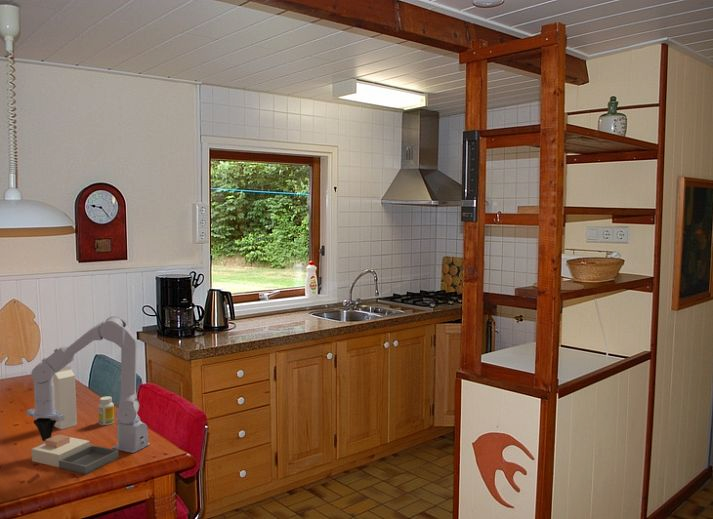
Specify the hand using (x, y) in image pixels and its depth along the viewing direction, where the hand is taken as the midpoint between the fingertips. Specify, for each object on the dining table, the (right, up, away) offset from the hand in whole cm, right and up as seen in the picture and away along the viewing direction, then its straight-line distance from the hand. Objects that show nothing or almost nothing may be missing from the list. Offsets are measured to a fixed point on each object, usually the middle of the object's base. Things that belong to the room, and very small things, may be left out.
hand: (46, 439), depth 197 cm
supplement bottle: (+8, -2, +28) cm, 30 cm away
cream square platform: (+6, -5, -2) cm, 8 cm away
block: (+5, -1, -2) cm, 5 cm away
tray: (+17, -5, -7) cm, 19 cm away
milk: (-6, -3, +26) cm, 27 cm away
